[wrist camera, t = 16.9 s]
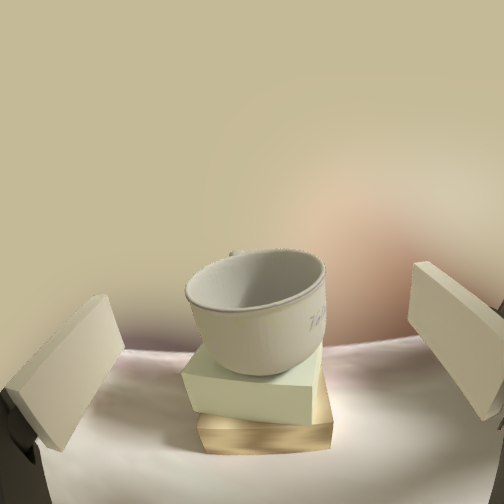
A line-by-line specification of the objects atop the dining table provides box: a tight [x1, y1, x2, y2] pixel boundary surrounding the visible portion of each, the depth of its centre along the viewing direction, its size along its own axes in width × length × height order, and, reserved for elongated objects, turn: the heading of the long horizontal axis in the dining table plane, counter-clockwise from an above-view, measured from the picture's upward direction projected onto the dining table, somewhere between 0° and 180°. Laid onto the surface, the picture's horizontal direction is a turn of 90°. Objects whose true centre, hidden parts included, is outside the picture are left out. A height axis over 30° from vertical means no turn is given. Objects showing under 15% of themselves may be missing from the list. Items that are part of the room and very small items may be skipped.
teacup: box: [185, 249, 326, 376], centre depth 25 cm, size 14×11×8 cm
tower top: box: [181, 341, 322, 426], centre depth 28 cm, size 11×11×5 cm
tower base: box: [196, 365, 334, 455], centre depth 29 cm, size 12×12×5 cm
